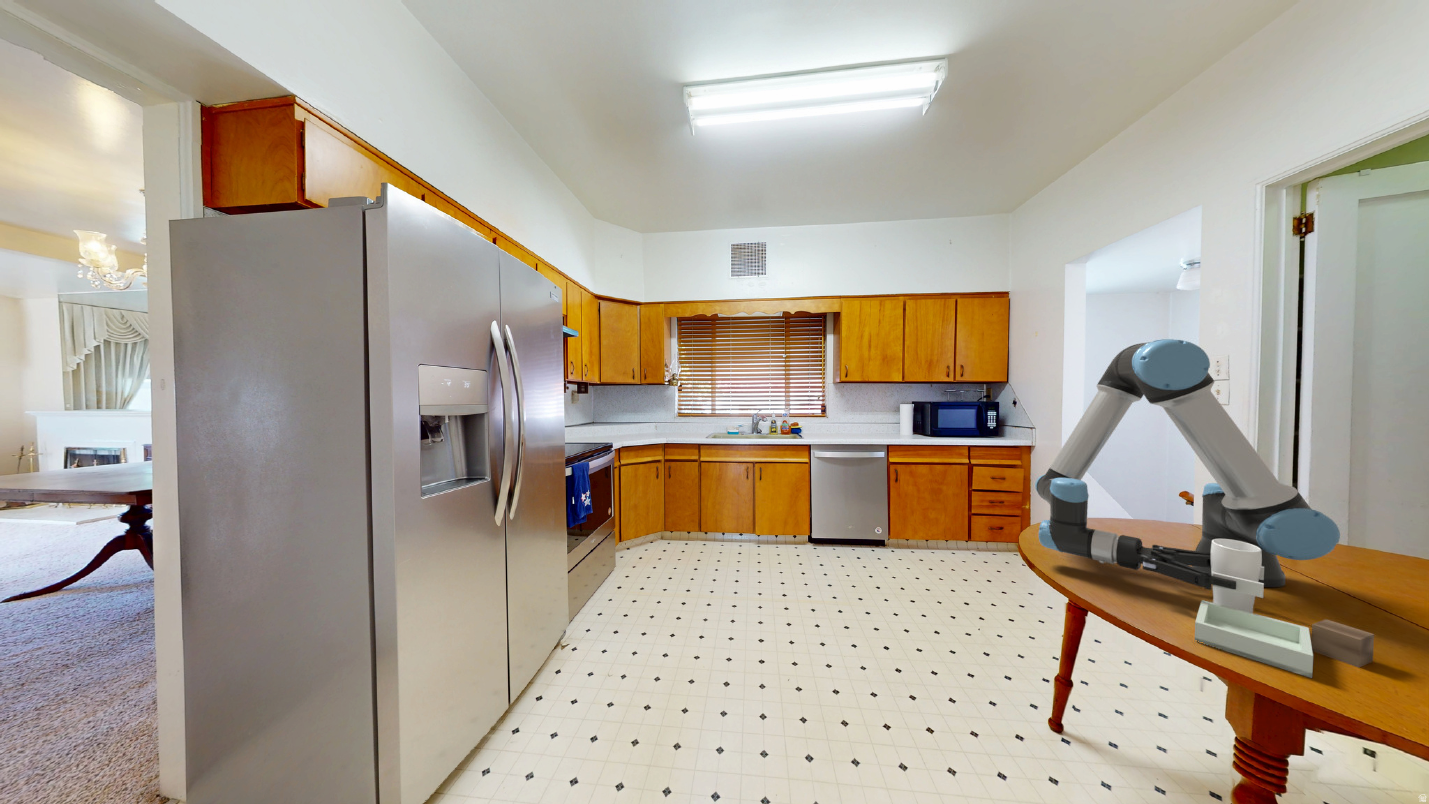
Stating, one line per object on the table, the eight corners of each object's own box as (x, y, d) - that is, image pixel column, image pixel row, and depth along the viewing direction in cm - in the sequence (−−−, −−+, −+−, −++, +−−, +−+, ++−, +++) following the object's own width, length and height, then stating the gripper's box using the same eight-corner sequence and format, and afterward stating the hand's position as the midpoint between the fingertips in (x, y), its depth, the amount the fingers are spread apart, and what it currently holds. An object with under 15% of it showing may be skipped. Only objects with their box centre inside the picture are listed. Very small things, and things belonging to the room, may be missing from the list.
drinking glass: (1263, 626, 85) (1267, 554, 84) (1212, 615, 90) (1216, 547, 88) (1251, 610, 91) (1255, 542, 89) (1204, 600, 95) (1207, 535, 94)
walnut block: (1325, 645, 79) (1326, 619, 79) (1372, 661, 74) (1374, 634, 74) (1310, 650, 78) (1312, 624, 77) (1358, 668, 73) (1360, 639, 73)
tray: (1201, 617, 89) (1201, 600, 89) (1307, 647, 78) (1308, 627, 78) (1194, 641, 81) (1195, 621, 81) (1312, 678, 71) (1313, 656, 70)
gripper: (1127, 552, 111) (1263, 582, 94) (1106, 578, 97) (1262, 619, 80) (1127, 524, 111) (1264, 549, 94) (1107, 546, 97) (1264, 580, 79)
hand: (1263, 581), depth 87 cm, fingers open, 11 cm apart
